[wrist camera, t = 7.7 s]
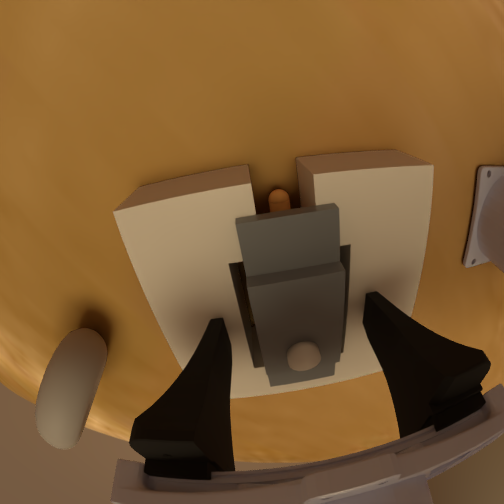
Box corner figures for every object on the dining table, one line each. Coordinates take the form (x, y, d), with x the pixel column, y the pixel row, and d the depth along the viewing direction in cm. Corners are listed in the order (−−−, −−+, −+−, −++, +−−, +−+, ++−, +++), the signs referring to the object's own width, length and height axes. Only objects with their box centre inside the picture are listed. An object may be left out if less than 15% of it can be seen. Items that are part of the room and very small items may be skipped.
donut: (82, 292, 17) (19, 408, 8) (123, 314, 18) (77, 440, 9) (70, 361, 21) (37, 448, 12) (102, 377, 22) (75, 466, 13)
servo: (312, 177, 14) (351, 219, 9) (320, 328, 19) (339, 392, 14) (235, 189, 14) (234, 238, 9) (265, 338, 19) (272, 404, 15)
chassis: (395, 149, 13) (433, 165, 10) (378, 333, 20) (395, 366, 17) (139, 186, 14) (113, 211, 11) (203, 362, 21) (200, 400, 17)
